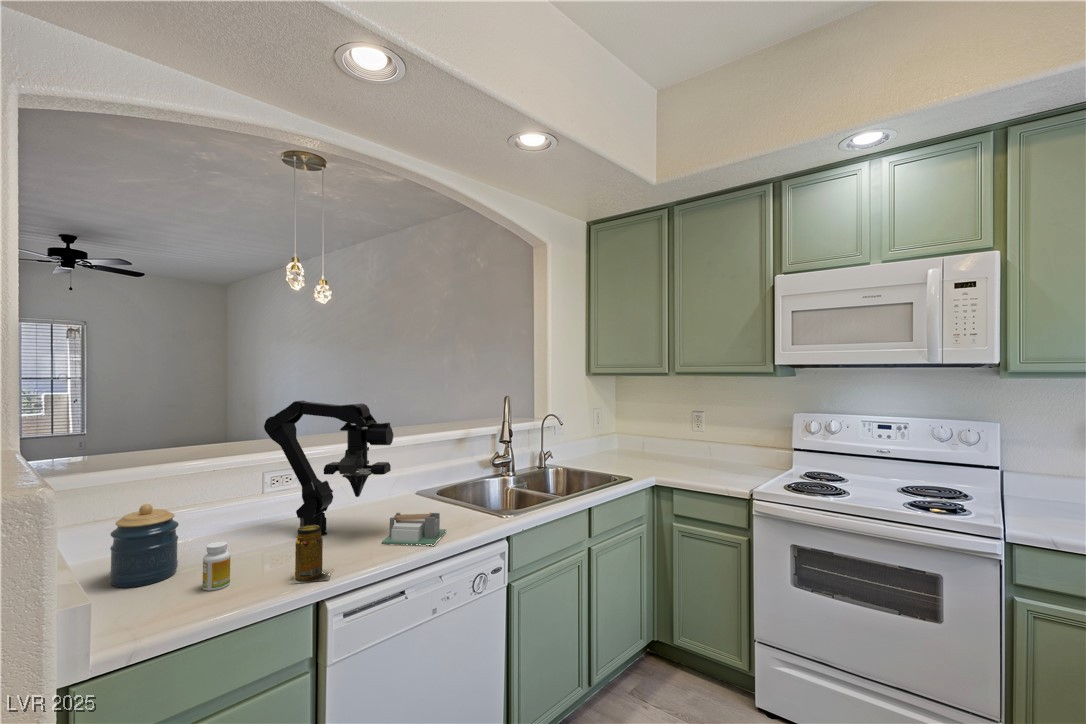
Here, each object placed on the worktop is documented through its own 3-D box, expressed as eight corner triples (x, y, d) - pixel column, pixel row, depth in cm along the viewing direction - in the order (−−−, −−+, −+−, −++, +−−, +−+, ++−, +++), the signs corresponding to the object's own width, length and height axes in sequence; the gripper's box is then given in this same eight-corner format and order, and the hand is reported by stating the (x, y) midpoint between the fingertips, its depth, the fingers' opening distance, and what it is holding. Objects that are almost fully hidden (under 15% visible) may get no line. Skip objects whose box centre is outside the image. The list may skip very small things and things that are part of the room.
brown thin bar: (391, 517, 150) (428, 516, 149) (395, 514, 153) (432, 513, 153) (391, 520, 150) (429, 519, 149) (395, 517, 153) (432, 516, 153)
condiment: (297, 572, 125) (297, 524, 125) (333, 569, 127) (334, 521, 128) (290, 584, 118) (290, 533, 118) (328, 581, 120) (329, 530, 120)
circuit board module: (381, 544, 145) (381, 520, 145) (398, 530, 158) (398, 508, 158) (433, 546, 144) (434, 521, 144) (446, 531, 157) (446, 509, 157)
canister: (107, 576, 122) (108, 503, 122) (172, 562, 131) (174, 494, 131) (112, 594, 113) (113, 515, 113) (182, 577, 122) (183, 504, 122)
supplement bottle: (234, 581, 120) (235, 540, 120) (221, 591, 114) (221, 548, 115) (211, 581, 120) (212, 540, 120) (197, 591, 114) (197, 548, 114)
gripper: (314, 449, 146) (314, 503, 145) (376, 449, 145) (377, 503, 144) (332, 443, 157) (332, 494, 157) (391, 443, 156) (391, 494, 155)
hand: (357, 496), depth 153 cm, fingers closed
